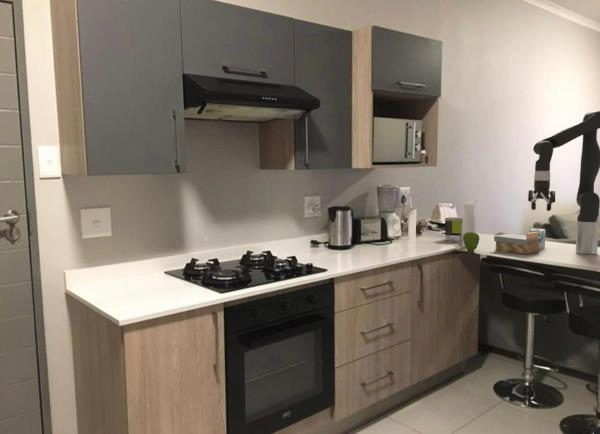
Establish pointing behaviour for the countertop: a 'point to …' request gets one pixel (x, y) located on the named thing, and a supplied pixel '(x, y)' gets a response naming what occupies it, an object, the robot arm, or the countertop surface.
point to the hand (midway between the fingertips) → (541, 210)
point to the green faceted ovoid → (471, 241)
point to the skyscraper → (467, 220)
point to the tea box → (453, 228)
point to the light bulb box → (541, 234)
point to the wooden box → (519, 247)
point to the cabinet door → (517, 238)
